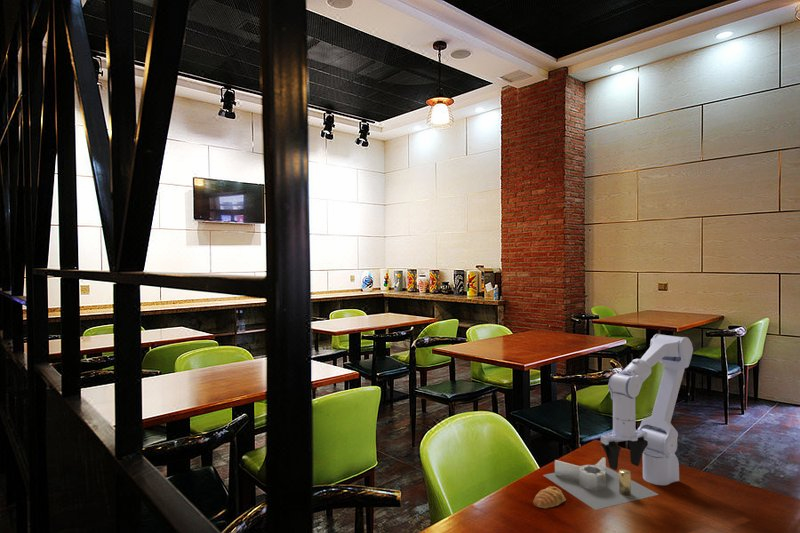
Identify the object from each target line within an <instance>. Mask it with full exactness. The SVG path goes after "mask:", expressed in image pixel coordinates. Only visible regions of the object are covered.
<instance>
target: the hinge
mask: <svg viewBox="0 0 800 533" xmlns="http://www.w3.org/2000/svg"><path fill="white" fill-rule="evenodd" d="M606 459H607V457H601V459H600V460H599V461H597V463H595V464H596V465H595V464H584V465H577V464H574V463H569V462H567V461H566V462H565V461H563V460H562V461H561V460H557V459H554V473H555V476H558V477H562V478H565V479H569V480H572V481H576V482H579V485H580V486H581V487H583V488H584V489H586V490H591V491H596V492H598V491H602V490H605V486H606V479H605V473H606V467H607V465H606V464H607V463H606V462H607V461H606ZM594 465H595V466H594Z"/></svg>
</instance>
